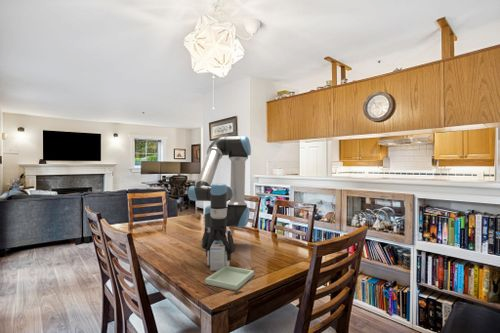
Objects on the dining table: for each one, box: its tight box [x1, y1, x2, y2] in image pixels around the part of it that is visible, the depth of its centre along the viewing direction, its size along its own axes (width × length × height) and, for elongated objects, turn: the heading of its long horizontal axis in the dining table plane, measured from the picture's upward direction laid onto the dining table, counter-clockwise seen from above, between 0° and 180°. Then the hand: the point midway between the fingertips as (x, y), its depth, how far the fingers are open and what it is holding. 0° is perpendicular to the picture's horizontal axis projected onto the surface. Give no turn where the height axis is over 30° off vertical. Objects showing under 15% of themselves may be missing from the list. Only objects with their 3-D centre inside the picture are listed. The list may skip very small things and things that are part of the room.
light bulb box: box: [209, 241, 227, 272], centre depth 128 cm, size 11×7×11 cm, turn 1°
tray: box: [204, 265, 255, 292], centre depth 114 cm, size 14×16×2 cm
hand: (218, 265), depth 128 cm, fingers closed on light bulb box, 9 cm apart
